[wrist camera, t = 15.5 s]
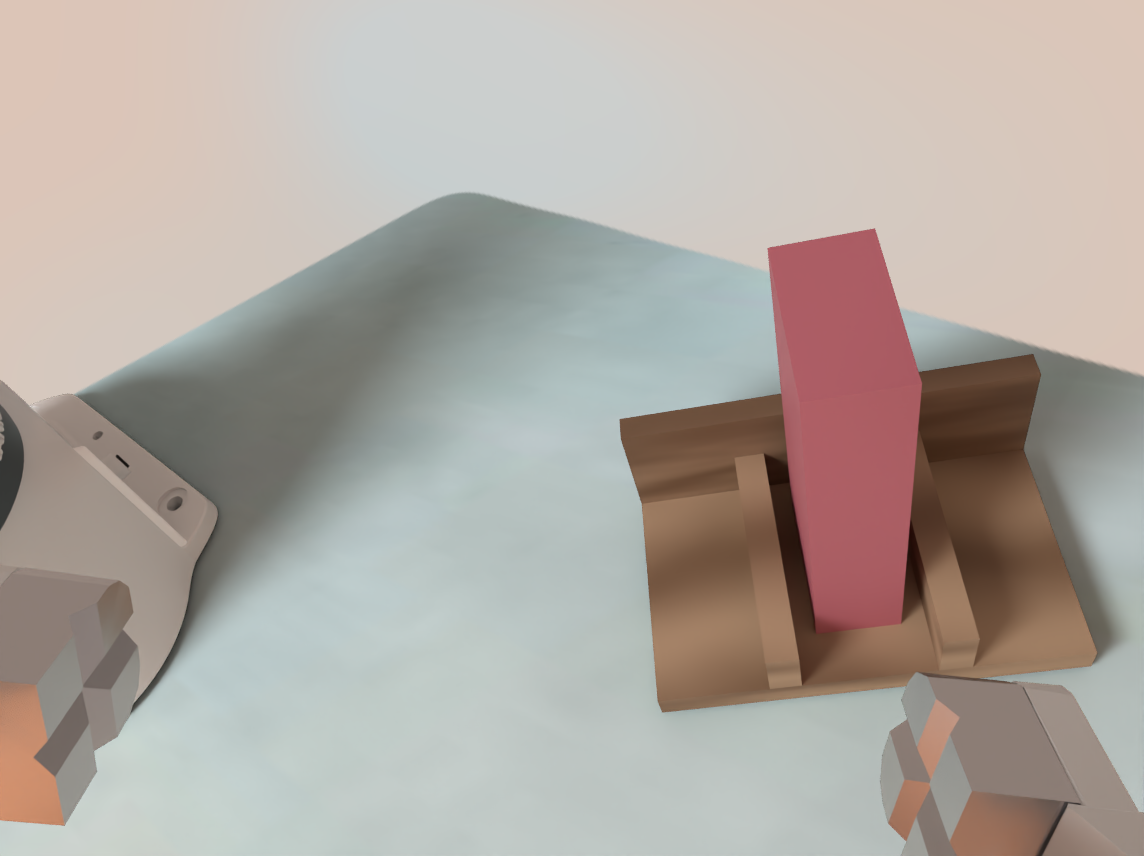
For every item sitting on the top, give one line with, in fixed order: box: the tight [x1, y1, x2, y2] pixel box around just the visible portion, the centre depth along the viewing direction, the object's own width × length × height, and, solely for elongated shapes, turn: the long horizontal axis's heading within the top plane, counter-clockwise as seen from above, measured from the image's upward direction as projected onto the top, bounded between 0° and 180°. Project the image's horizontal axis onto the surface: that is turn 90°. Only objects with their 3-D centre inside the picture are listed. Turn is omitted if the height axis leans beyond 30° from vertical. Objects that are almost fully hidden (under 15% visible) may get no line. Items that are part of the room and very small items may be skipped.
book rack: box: [620, 354, 1097, 712], centre depth 39 cm, size 10×16×6 cm, turn 92°
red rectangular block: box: [768, 229, 922, 634], centre depth 34 cm, size 6×3×15 cm, turn 2°
